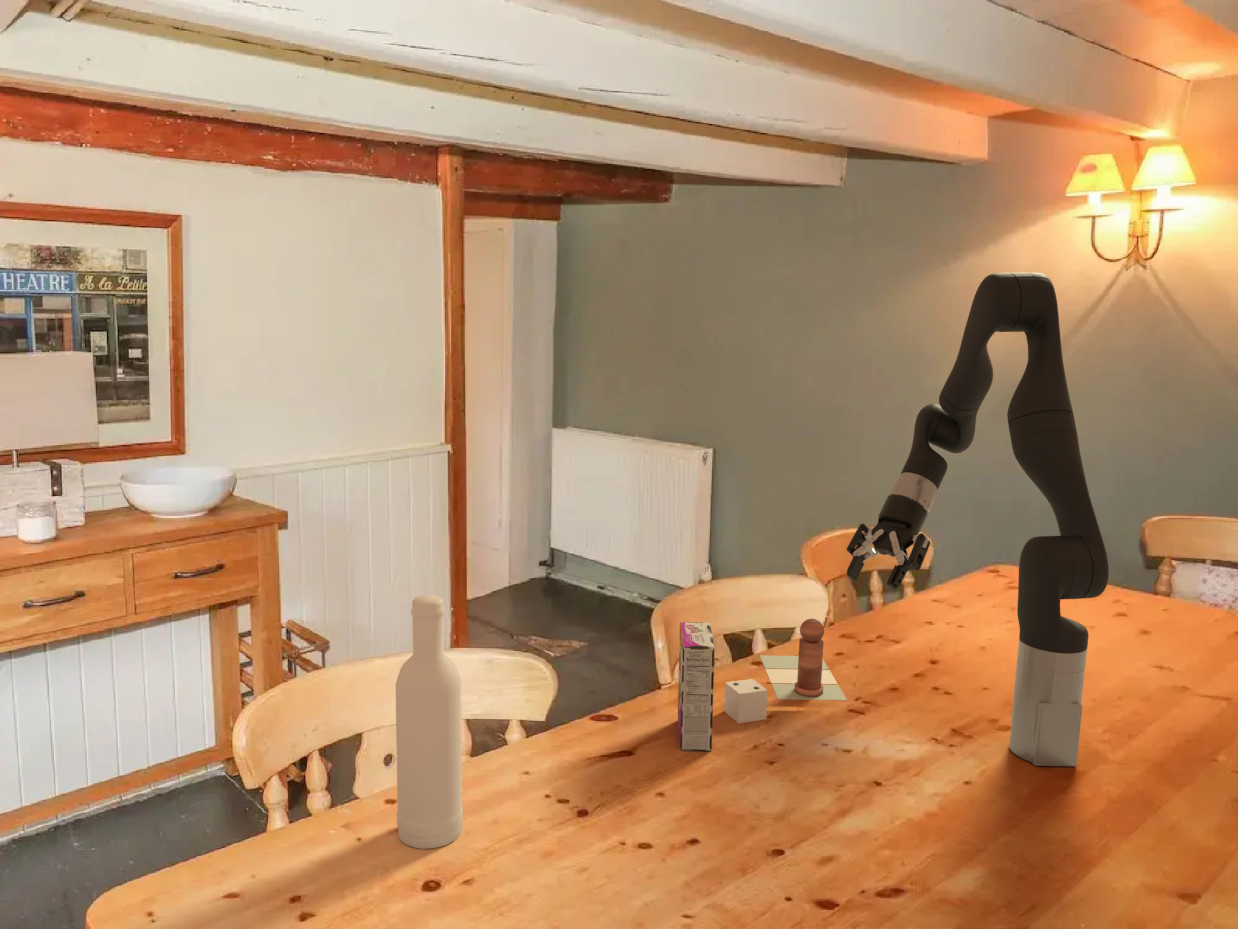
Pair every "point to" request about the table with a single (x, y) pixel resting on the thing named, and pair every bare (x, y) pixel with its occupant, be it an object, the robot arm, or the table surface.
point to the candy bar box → (695, 686)
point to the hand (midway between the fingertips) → (870, 582)
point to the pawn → (810, 659)
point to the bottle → (428, 735)
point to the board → (786, 673)
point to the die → (745, 701)
